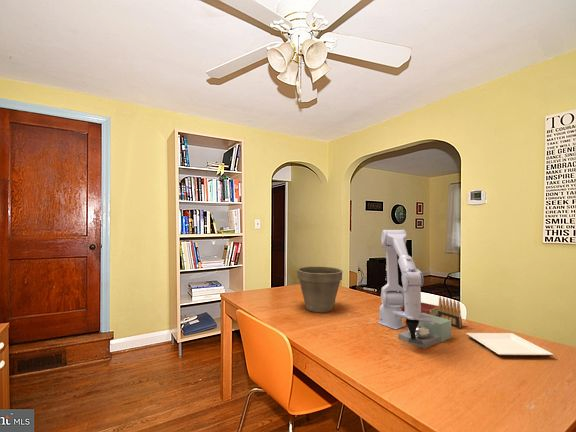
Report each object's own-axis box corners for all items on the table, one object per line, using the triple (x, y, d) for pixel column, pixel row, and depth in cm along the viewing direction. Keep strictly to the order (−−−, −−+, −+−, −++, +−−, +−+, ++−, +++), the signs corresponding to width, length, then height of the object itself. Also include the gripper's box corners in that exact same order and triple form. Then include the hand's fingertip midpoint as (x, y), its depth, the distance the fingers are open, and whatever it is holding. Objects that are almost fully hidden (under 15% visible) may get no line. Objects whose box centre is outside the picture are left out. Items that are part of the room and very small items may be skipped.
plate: (465, 337, 114) (465, 332, 115) (512, 337, 114) (512, 332, 114) (499, 359, 96) (498, 353, 96) (554, 360, 95) (554, 354, 95)
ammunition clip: (462, 328, 124) (461, 301, 125) (459, 328, 124) (458, 301, 124) (440, 320, 134) (439, 295, 134) (437, 321, 133) (437, 296, 134)
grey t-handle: (409, 329, 117) (409, 318, 117) (430, 333, 113) (430, 321, 113) (403, 343, 103) (403, 331, 103) (427, 348, 99) (427, 335, 99)
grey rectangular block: (397, 338, 114) (396, 321, 114) (423, 328, 124) (423, 312, 124) (425, 349, 104) (425, 330, 104) (451, 337, 114) (451, 320, 114)
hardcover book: (430, 319, 138) (430, 310, 138) (391, 309, 154) (391, 301, 154) (440, 313, 146) (440, 305, 146) (402, 305, 162) (401, 297, 162)
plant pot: (349, 306, 158) (348, 268, 159) (331, 319, 137) (331, 274, 138) (310, 300, 172) (310, 264, 172) (288, 310, 151) (288, 270, 152)
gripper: (389, 302, 107) (390, 338, 107) (431, 309, 98) (432, 348, 98) (395, 298, 113) (395, 332, 112) (435, 304, 104) (435, 341, 104)
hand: (413, 339), depth 106 cm, fingers closed
